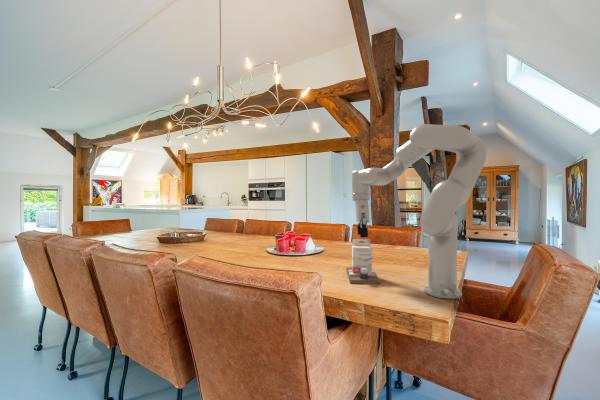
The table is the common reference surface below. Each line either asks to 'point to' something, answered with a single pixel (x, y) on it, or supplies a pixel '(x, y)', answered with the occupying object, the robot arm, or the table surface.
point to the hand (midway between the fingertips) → (362, 235)
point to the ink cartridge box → (361, 255)
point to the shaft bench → (362, 281)
